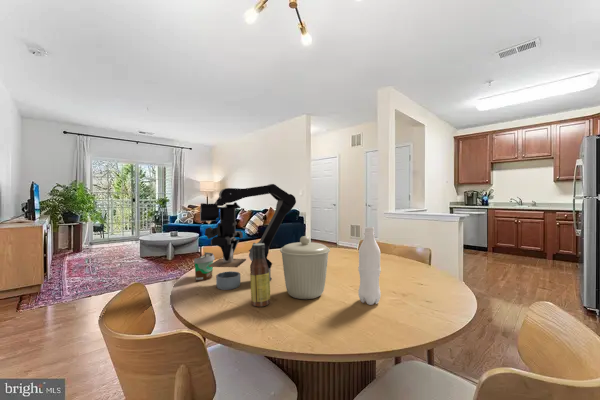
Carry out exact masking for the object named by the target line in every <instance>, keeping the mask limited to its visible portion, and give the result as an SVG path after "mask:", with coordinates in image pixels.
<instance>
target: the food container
mask: <svg viewBox="0 0 600 400" xmlns="http://www.w3.org/2000/svg"><path fill="white" fill-rule="evenodd" d="M214 261H215V255H214V254H213V252H204V254H203V255H200V256H199V257H194V261H193V264H194V270H195V271H194V272H195V273H194V274H195V282H199V283H200V282H206V281H209V280H211V279H212V278H213V270H214V269H213V268H214V267H209V265H210V264H212V263H214Z"/></svg>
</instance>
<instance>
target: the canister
mask: <svg viewBox="0 0 600 400" xmlns="http://www.w3.org/2000/svg"><path fill="white" fill-rule="evenodd" d="M279 251H280V253H281V259H282V268H283V276H284V283H285V289H286V292H287V294H288V295H289V296H290V297H293V299H298V300H312V299H316V298H318V297H320V296H321V295H322V294H323V293H324V290H325V287H326V279H327V268H328V260H329V253H330V252H331V249H330V248H329V247H328V246H327V245H325V244H323V243H320V242H319V243H318V242H313V241H312V242H311V239H310V237H309V236H308V235H304V236H303V235H302V236H301V237H300V238H299V242H298V241H297V242H291V243H288V244H285V245H284V246H282V247H281V248H280V249H279Z"/></svg>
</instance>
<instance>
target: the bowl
mask: <svg viewBox="0 0 600 400" xmlns="http://www.w3.org/2000/svg"><path fill="white" fill-rule="evenodd" d="M215 277H216V278H215V280H216V281H215V283H216V289H218V290H222V291H230V290H234V289H238V288H239V287H240V286H241V273H240V272H239V271H232V270H231V271H223V272H219V273H217V274H216V275H215Z"/></svg>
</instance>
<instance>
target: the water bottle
mask: <svg viewBox="0 0 600 400" xmlns="http://www.w3.org/2000/svg"><path fill="white" fill-rule="evenodd" d="M363 234H364V235H363V236H364V237H363V240H362V242H361V244H360V246H359V248H358V269H357V271H358V273H359V286H358V292H357V293H358V297H359V300H360V302H361V303H362V304H365V303H366V304H367V305H369V306H373V305H374V304H379V302H380V299H381V295H382V294H381V293H382V292H381V288H380V274H381V272H382V271H381V254H382V253H381V249H380V247H379V244H378V242H377V241H376V238H375V227H373V226H365V227H364V233H363Z"/></svg>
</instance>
